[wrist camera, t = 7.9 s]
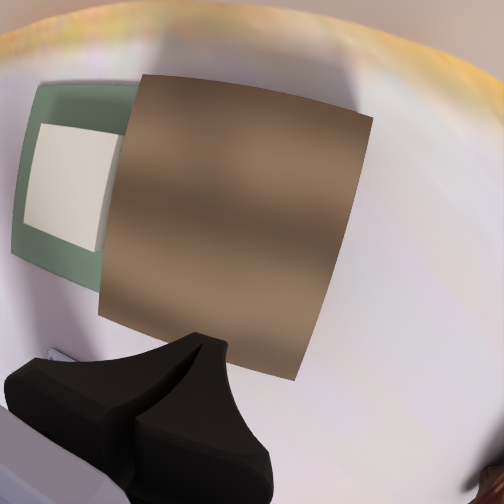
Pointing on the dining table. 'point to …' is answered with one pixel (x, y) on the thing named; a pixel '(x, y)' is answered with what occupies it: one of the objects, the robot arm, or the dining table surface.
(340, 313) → the dining table surface
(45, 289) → the dining table surface
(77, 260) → the rubber mat
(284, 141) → the walnut step
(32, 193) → the coaster
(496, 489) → the decorative turtle
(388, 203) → the dining table surface
